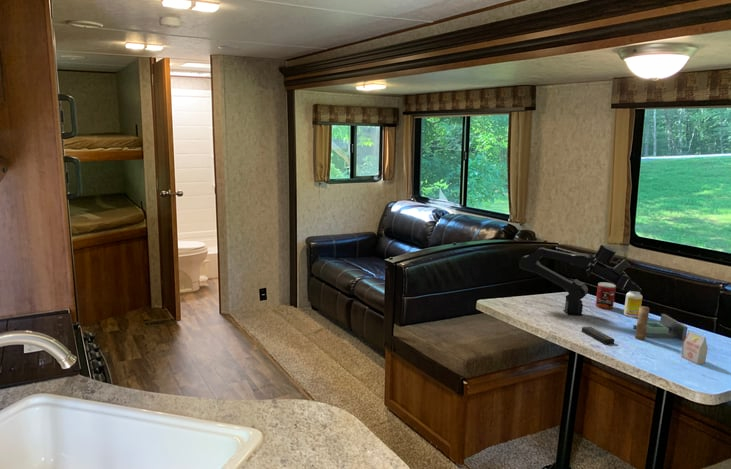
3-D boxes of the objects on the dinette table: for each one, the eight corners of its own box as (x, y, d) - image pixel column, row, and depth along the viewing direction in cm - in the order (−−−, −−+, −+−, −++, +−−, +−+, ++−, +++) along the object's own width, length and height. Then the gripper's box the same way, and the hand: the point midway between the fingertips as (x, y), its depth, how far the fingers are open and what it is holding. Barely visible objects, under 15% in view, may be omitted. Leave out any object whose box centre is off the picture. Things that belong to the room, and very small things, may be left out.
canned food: (594, 307, 259) (597, 284, 257) (596, 303, 266) (599, 281, 264) (612, 310, 256) (615, 287, 254) (613, 306, 263) (616, 283, 261)
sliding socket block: (648, 336, 222) (649, 327, 222) (638, 329, 230) (639, 321, 230) (667, 337, 223) (669, 328, 222) (656, 330, 231) (658, 322, 230)
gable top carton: (689, 356, 204) (693, 330, 202) (705, 363, 197) (709, 337, 196) (681, 356, 203) (685, 330, 201) (696, 364, 196) (701, 337, 195)
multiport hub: (604, 345, 211) (605, 339, 211) (580, 332, 225) (581, 326, 225) (614, 345, 212) (615, 339, 212) (590, 331, 226) (590, 326, 226)
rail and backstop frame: (649, 340, 219) (652, 325, 217) (629, 326, 234) (631, 312, 233) (685, 341, 219) (687, 327, 218) (662, 327, 235) (664, 314, 234)
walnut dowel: (637, 340, 218) (642, 308, 215) (633, 337, 221) (637, 306, 219) (646, 340, 218) (651, 309, 215) (641, 337, 221) (646, 306, 219)
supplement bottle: (642, 318, 246) (646, 290, 244) (627, 317, 246) (631, 289, 244) (635, 313, 253) (639, 286, 250) (620, 313, 253) (624, 285, 250)
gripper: (615, 257, 229) (653, 275, 224) (612, 253, 246) (647, 270, 241) (602, 280, 231) (639, 299, 226) (600, 275, 248) (634, 292, 244)
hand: (640, 289), depth 234 cm, fingers open, 9 cm apart
